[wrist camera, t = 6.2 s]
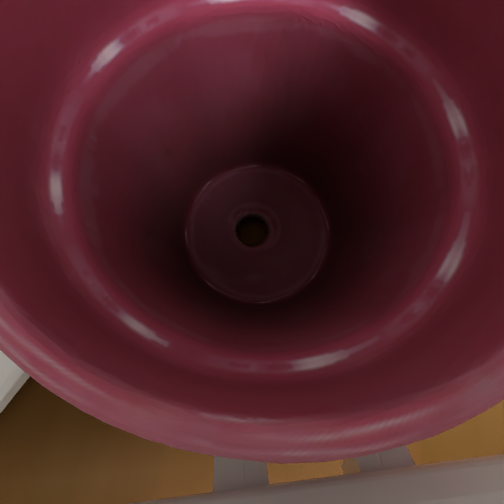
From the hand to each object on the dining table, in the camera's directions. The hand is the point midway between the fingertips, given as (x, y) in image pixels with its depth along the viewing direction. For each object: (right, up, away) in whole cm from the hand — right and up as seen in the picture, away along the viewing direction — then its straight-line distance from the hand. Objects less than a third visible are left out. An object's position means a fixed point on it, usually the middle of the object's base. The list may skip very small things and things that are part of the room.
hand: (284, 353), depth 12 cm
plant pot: (-1, +5, +7) cm, 8 cm away
